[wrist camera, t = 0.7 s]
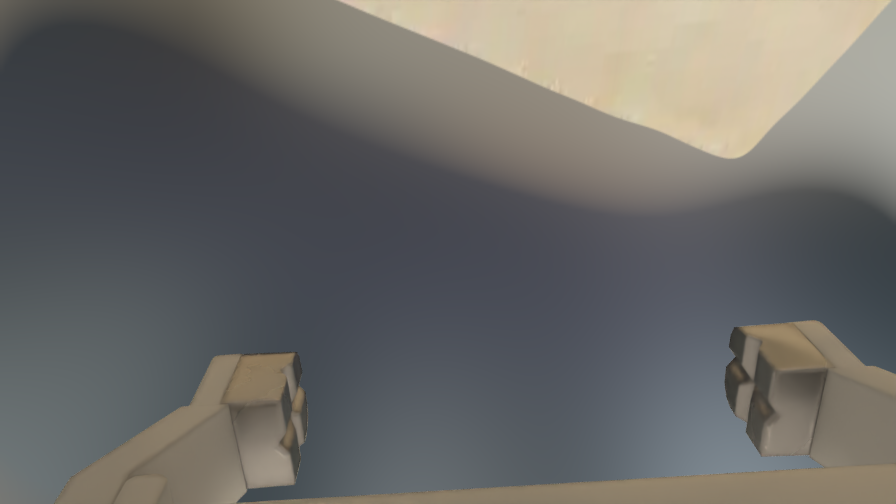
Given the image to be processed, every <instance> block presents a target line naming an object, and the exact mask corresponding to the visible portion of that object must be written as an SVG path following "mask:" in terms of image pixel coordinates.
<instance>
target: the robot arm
mask: <svg viewBox="0 0 896 504" xmlns="http://www.w3.org/2000/svg"><path fill="white" fill-rule="evenodd" d="M729 348H730V349H731V350H732V352H733V353H734V355H735V356H736V357H735V358H734V359H733V360H732V361H731V362H730V363H729V365H728V366H727V367H726V374H725V390H726V397H727V400H728V403H729V405H730V408H731V409H732V411H733V413H734V414H735V416H736V417H738V418H740V419H742V420H744V421H745V422H747V428H746V433H747V435H748V436H749V438H750V439H751V441H752V443H753V444H754V446H755V447H756V449H757V450H758V452H759V453H760V455H761V456H794V455H810V458H812V459H813V460H815V461H816V462H818V463H819V464H821V465H822V466H823V467H825V468H808V469H792V470H775V471H759V472H744V473H743V472H742V473H726V474H710V475H693V476H677V477H660V478H643V479H627V480H611V481H594V482H578V483H560V484H544V485H529V486H528V485H527V486H511V487H494V488H478V489H461V490H444V491H428V492H412V493H395V494H378V495H361V496H345V497H329V498H312V499H296V500H278V501H262V502H246V503H236V502H237V501H238V500H239V499H240V498H241V497H242V496H243V495H244V494H245V493H246V492H247V489H249V488H261V487H272V486H284V485H295V481H296V477H297V473H298V469H299V464H300V460H301V456H300V450H299V446H300V445H301V444H303V443H304V442H305V438H306V433H307V422H308V410H307V400H306V393H305V391H304V390H303V389H302V388H301V387H300V386H299V382H300V378H301V374H302V368H301V363H300V358H299V355H298V354H297V352H282V353H259V354H258V353H257V354H244V355H243V354H231V355H218V356H216V357H214V358H213V359H212V361H211V363H210V365H209V367H208V369H207V371H206V373H205V375H204V377H203V379H202V381H201V384H200V385H199V387H198V390H197V391H196V393H195V396H194V398H193V400H192V402H191V404H190V406H187V407H186V406H185V407H180V408H179V409H177V410H175V411H174V412H172V413H171V414H169V415H168V416H166V417H164V418H163V419H161V420H160V421H158V422H157V423H155V424H154V425H152V426H150V427H149V428H147V429H146V430H144V431H143V432H141V433H139V434H138V435H136V436H135V437H134V438H132V439H130V440H129V441H127V442H126V443H124V444H122V445H121V446H119V447H118V448H116V449H114V450H113V451H111V452H110V453H108V454H107V455H105V456H103V457H102V458H100V459H99V460H97V461H96V462H94V463H92V464H91V465H89V466H88V467H86V468H85V469H83V470H81V471H80V472H78V473H77V474H75V475H74V476H72V477H71V478H70V479H69V481H68V482H67V484H66V485H65V487H64V489H63V490H62V492H61V493H60V495H59V497H58V498H57V499H56V501H55V503H54V504H896V374H893V373H891V372H888V371H886V370H883V369H881V368H878V367H875V366H865V365H864V364H863V363H862V362H861V361H860V360H859V359H858V358H857V357H856V356H855V355H854V354H853V353H852V352H851V351H850V350H849V349H848V348H847V347H845V345H843V344H842V343H841V342H840V341H839V340H838V339H837V338H836V337H835V336H834V335H833V334H832V333H831V332H830V331H829V330H828V329H827V328H826V327H825V326H824V325H823V324H822V323H821V322H818V321H815V320H811V321H801V322H790V323H780V324H768V325H756V326H744V327H734V329H733V331H732V334H731V337H730V343H729Z"/></svg>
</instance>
